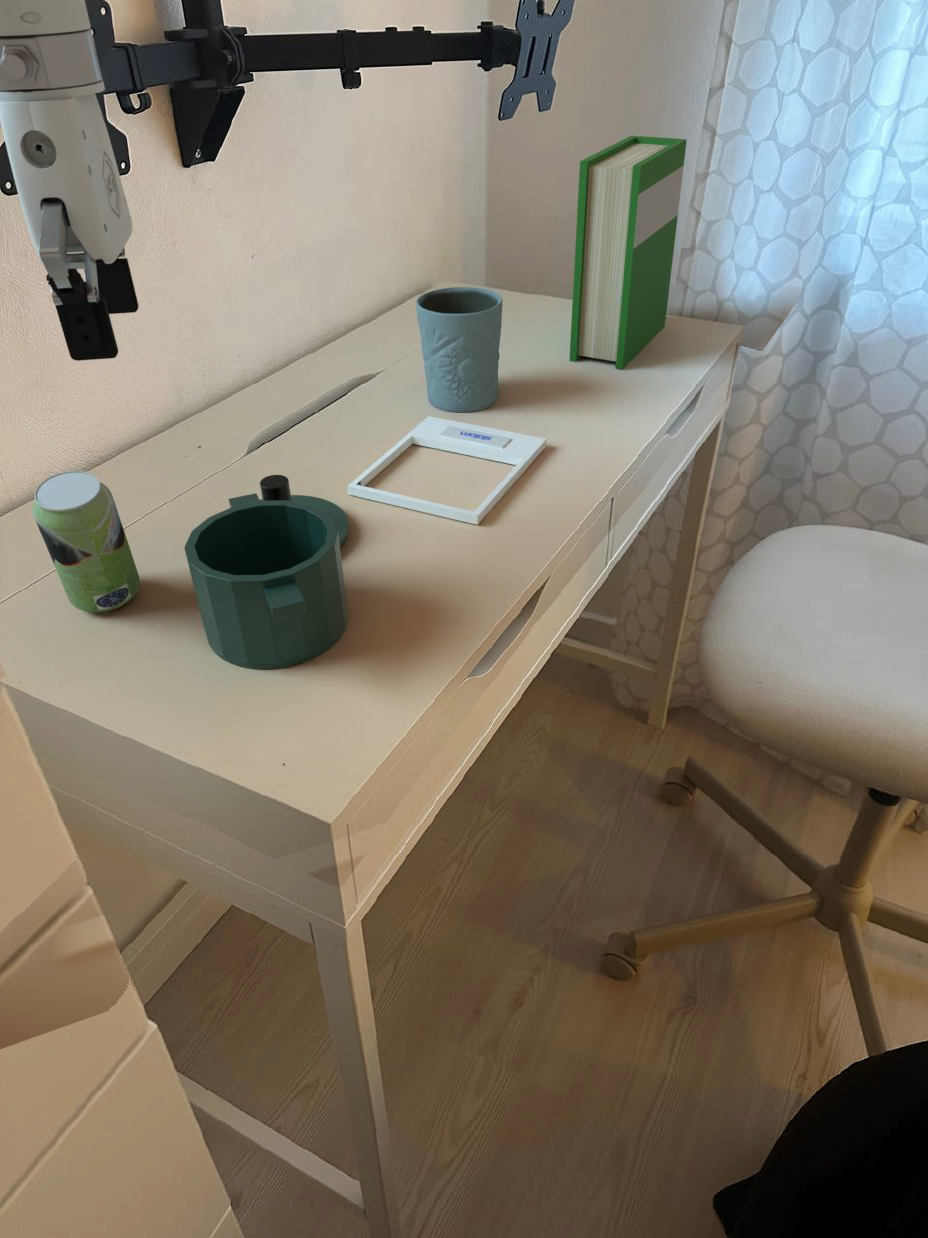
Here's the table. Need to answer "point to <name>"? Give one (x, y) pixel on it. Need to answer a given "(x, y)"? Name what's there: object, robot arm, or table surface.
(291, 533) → the pot
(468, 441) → the photo frame
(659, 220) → the hardback book
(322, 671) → the table surface
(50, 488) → the beverage can
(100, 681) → the table surface
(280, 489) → the lid
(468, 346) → the embossed blue cup
